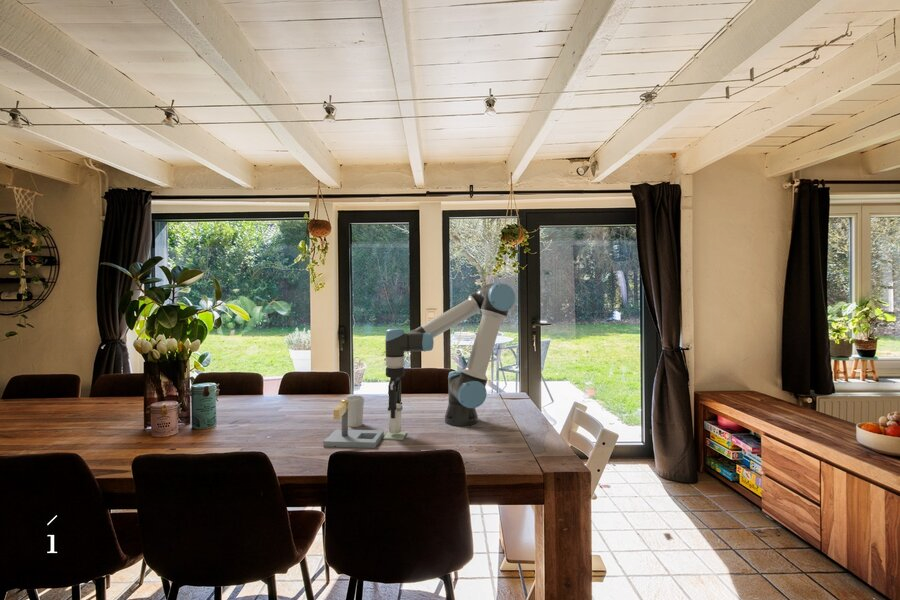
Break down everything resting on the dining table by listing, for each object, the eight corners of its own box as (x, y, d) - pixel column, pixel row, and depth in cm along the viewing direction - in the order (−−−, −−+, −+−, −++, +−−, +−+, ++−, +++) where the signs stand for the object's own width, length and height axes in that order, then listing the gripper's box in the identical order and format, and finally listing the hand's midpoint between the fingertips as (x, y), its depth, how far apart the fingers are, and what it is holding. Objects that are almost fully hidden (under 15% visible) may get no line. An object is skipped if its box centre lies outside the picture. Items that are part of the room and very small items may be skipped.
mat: (406, 433, 170) (406, 431, 170) (403, 439, 162) (403, 438, 162) (387, 432, 170) (387, 431, 170) (383, 439, 162) (383, 438, 162)
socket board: (383, 435, 168) (383, 406, 167) (375, 447, 154) (374, 416, 153) (336, 434, 169) (336, 405, 169) (323, 446, 155) (323, 415, 155)
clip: (340, 419, 149) (340, 408, 149) (332, 419, 149) (331, 408, 149) (349, 409, 163) (349, 399, 163) (341, 409, 163) (341, 399, 163)
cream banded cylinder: (403, 429, 169) (403, 402, 169) (401, 434, 163) (400, 406, 163) (389, 428, 169) (389, 402, 169) (386, 433, 163) (386, 406, 163)
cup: (359, 427, 177) (359, 400, 177) (342, 426, 179) (342, 399, 178) (367, 422, 185) (367, 396, 185) (350, 421, 186) (350, 395, 186)
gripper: (390, 362, 176) (391, 416, 176) (380, 370, 157) (380, 430, 157) (408, 362, 175) (408, 416, 175) (399, 370, 156) (399, 431, 156)
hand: (395, 423), depth 166 cm, fingers closed on cream banded cylinder, 6 cm apart
